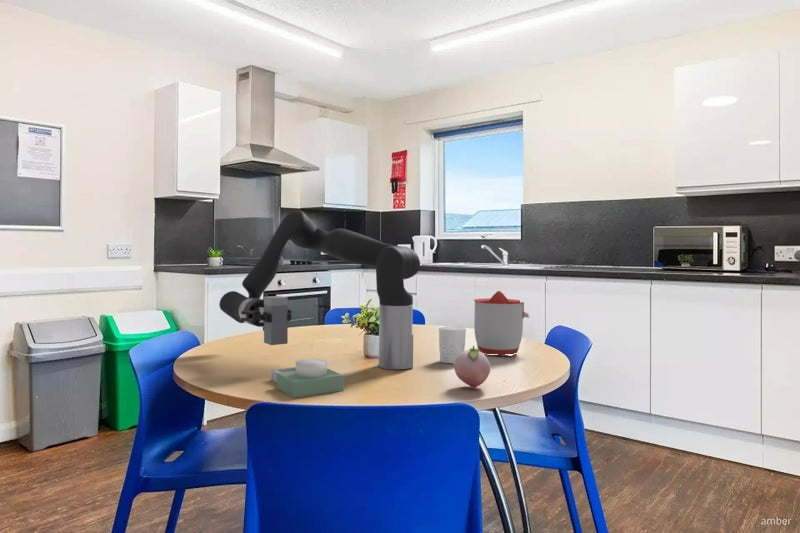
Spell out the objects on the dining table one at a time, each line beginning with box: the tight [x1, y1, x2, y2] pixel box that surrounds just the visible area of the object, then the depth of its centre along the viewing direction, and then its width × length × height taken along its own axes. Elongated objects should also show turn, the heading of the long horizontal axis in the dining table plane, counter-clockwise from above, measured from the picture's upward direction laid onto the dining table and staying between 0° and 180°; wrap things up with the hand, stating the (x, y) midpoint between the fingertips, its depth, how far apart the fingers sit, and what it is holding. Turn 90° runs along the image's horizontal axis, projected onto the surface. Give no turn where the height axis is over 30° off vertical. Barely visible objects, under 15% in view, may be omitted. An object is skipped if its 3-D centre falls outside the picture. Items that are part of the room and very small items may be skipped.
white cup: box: [438, 325, 467, 364], centre depth 155 cm, size 8×8×10 cm
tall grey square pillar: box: [263, 295, 289, 346], centre depth 138 cm, size 5×4×12 cm
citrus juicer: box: [473, 290, 530, 355], centre depth 168 cm, size 16×17×20 cm
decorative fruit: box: [453, 345, 491, 388], centre depth 125 cm, size 9×8×10 cm
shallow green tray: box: [270, 357, 345, 399], centre depth 125 cm, size 18×12×6 cm, turn 35°
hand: (279, 317), depth 136 cm, fingers closed on tall grey square pillar, 4 cm apart
